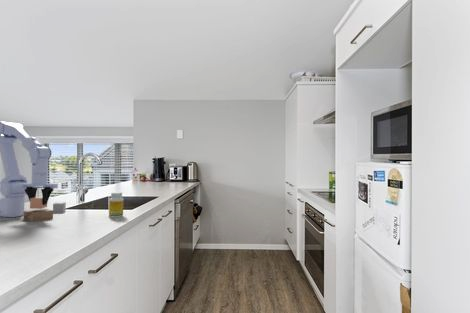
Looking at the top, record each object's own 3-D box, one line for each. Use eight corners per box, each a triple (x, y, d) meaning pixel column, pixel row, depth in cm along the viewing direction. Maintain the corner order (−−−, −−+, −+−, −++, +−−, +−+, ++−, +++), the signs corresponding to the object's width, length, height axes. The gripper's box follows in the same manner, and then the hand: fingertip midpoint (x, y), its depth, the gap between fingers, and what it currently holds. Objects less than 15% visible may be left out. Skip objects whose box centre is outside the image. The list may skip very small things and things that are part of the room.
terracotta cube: (29, 208, 122) (30, 198, 122) (36, 206, 127) (36, 196, 127) (40, 208, 122) (41, 198, 122) (46, 206, 127) (47, 196, 127)
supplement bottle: (107, 216, 134) (107, 192, 135) (120, 214, 138) (121, 191, 139) (110, 218, 130) (111, 193, 130) (125, 216, 134) (125, 193, 134)
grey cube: (52, 212, 139) (53, 203, 139) (55, 211, 143) (55, 202, 144) (63, 212, 141) (63, 203, 141) (65, 210, 145) (65, 202, 145)
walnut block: (23, 220, 123) (23, 211, 123) (42, 217, 130) (43, 208, 130) (33, 222, 119) (33, 213, 119) (52, 219, 126) (53, 210, 126)
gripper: (16, 173, 120) (15, 205, 120) (51, 174, 121) (50, 206, 121) (27, 173, 127) (26, 203, 127) (60, 173, 128) (59, 203, 128)
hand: (38, 204), depth 125 cm, fingers closed on terracotta cube, 4 cm apart
